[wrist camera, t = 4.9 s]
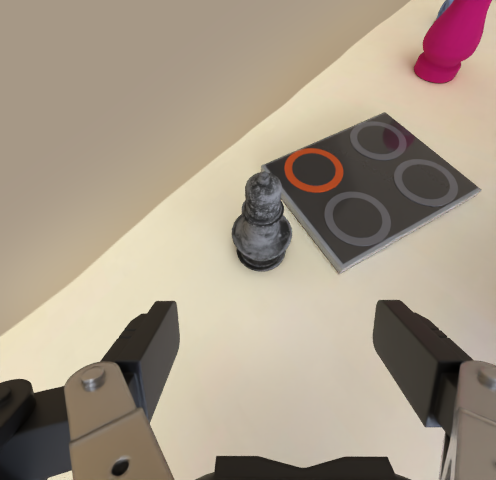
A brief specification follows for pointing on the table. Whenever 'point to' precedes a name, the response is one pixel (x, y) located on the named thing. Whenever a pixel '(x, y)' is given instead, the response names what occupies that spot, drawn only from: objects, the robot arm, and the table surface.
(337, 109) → the table surface
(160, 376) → the robot arm
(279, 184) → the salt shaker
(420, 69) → the pepper mill
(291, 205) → the hob
